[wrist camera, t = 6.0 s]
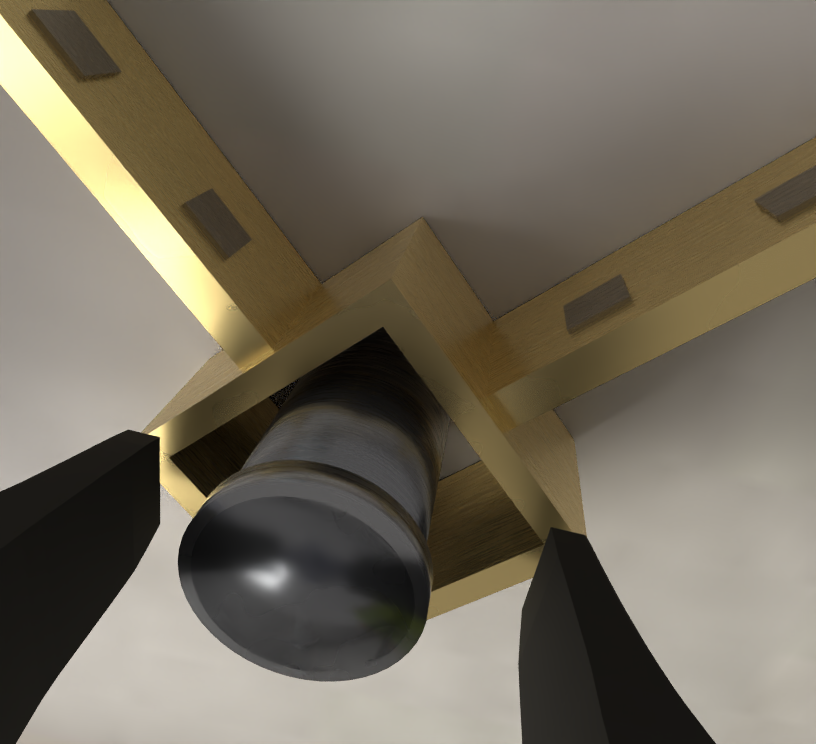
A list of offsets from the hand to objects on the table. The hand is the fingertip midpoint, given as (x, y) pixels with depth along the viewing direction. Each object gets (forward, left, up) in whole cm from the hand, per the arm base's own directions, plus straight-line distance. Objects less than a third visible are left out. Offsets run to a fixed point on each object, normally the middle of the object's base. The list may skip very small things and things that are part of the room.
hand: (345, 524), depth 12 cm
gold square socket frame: (+4, +4, -5) cm, 7 cm away
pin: (0, 0, -5) cm, 5 cm away
